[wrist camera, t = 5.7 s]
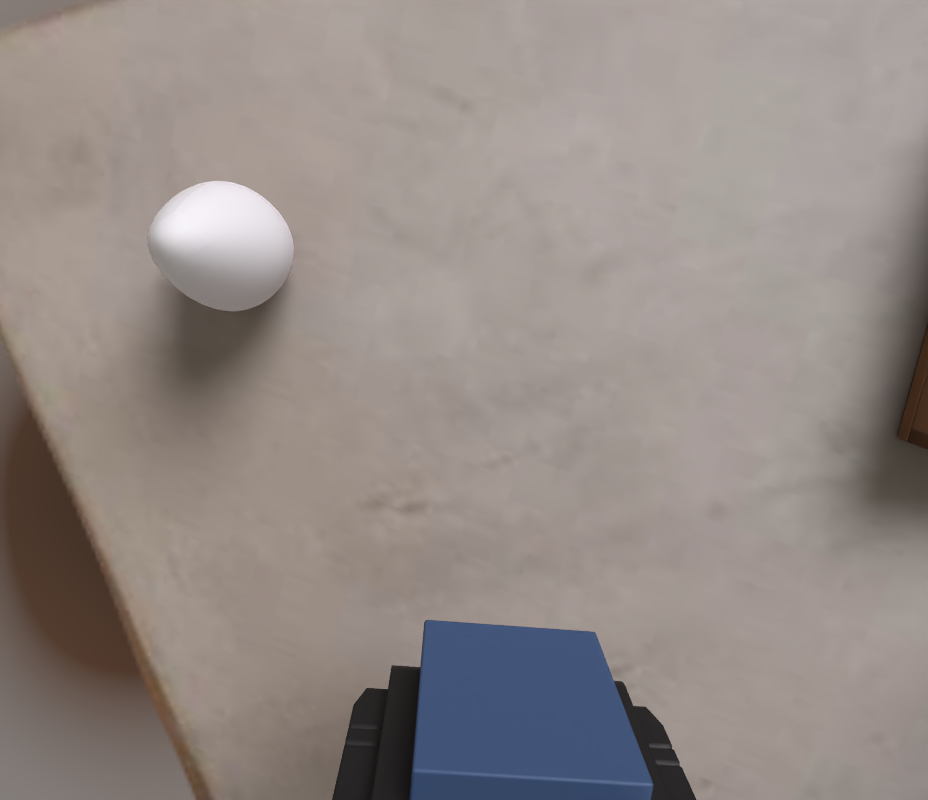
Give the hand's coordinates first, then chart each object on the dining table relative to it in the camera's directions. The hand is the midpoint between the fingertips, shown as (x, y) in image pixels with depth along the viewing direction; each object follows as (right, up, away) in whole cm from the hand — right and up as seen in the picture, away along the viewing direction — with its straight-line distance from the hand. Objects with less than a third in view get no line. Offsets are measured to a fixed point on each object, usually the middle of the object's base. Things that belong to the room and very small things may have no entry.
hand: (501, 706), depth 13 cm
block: (0, 0, 0) cm, 0 cm away
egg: (-8, +12, +6) cm, 16 cm away
